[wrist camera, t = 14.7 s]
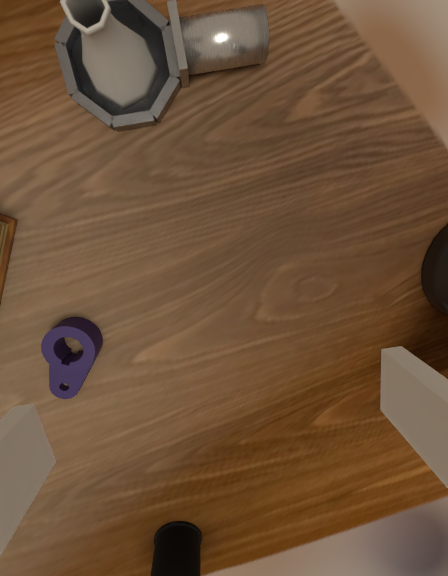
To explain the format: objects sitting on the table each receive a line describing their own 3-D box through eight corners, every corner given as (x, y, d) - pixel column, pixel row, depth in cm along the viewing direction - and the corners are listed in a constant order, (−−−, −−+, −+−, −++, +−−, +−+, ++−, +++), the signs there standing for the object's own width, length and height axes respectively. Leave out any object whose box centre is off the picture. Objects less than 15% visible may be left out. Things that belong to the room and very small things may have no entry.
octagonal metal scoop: (251, -21, 29) (259, -59, 25) (265, 106, 32) (274, 92, 28) (51, 10, 28) (25, -24, 24) (86, 136, 32) (68, 126, 27)
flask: (70, 64, 29) (7, -4, 20) (119, 8, 28) (77, -93, 19) (124, 123, 31) (91, 88, 22) (172, 72, 30) (158, 11, 21)
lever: (59, 310, 37) (46, 320, 34) (108, 324, 38) (100, 334, 35) (42, 387, 40) (29, 402, 37) (88, 397, 41) (79, 413, 38)
